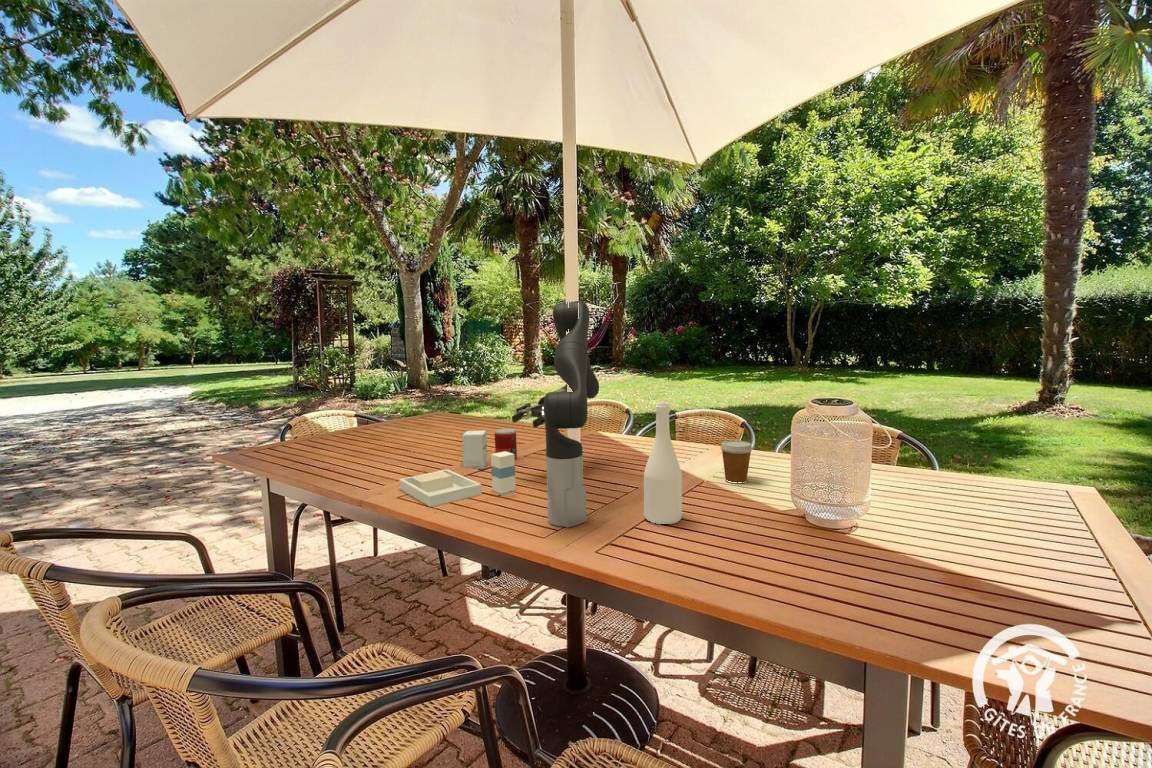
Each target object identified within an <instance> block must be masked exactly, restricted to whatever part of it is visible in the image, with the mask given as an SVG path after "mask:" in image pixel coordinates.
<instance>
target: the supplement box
mask: <svg viewBox="0 0 1152 768" xmlns="http://www.w3.org/2000/svg"><path fill="white" fill-rule="evenodd" d="M461 437H462V438H461V439H462V441H461V442H462V462H463V465H462V466H463V468H471V469H474V470H476V469H485V468H486V467H487V465H488V446H487V431H486V430H466V431H465V432H464V433H463V434H462V436H461Z"/></svg>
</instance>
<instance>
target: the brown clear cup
mask: <svg viewBox="0 0 1152 768" xmlns="http://www.w3.org/2000/svg"><path fill="white" fill-rule="evenodd" d="M720 449H721V453H722V460H723V462H722V463H723V470H724V477H725V479H726V480H728V481H731V482H737V483H738V482H745V481H746V482H747V480H748V473H749V466H750V459H751V452H752V451H753V447H752V444H751V443H750V442H748V441H745V440H733V439H732V440H725V441H722V443H721V446H720ZM726 480H725V481H726Z"/></svg>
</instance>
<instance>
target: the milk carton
mask: <svg viewBox="0 0 1152 768" xmlns="http://www.w3.org/2000/svg"><path fill="white" fill-rule="evenodd" d="M490 457H491V458H490V459H491V460H490V461H491V465H490V466H491V483H492V484H491V487H492V491H494V492H497V493H498V495H497V496H498V497H500V498H503V497H507V496H511V495H514V494H515V495H516V493H517V492H516V490H517V487H516V464H515V459H514V454H512V453H509V452H506V451H504V452H499V453H491V454H490Z"/></svg>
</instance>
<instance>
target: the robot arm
mask: <svg viewBox="0 0 1152 768" xmlns="http://www.w3.org/2000/svg"><path fill="white" fill-rule="evenodd" d="M573 301H574V302H573ZM573 301H567V304H566V302H564V301H563V302H559V303H556V304H555V305H554V306H553V307H552V308H553V309H552V319H553V324H554V328H555V331H556V334H557V337H558V338H559V340H560V341H559V342H558V343H557V345H556V346H555V347H556V348H555V350H554V351H555V352H554V361H553V362H554V363H553V364H554V365H553V366H554V370H555V371H556V374H557V375H558V376H559V378H560V379H561V380H562V381H564V383H566V384H565V385H564V386H562V387H560V388H558V389H556V390H553V391H551V392H550V391H549V392H547V393H546V394H545V395H544V396H543V397H540V399H539V401H538V403H537V404H534V405H531V403H530V402H528V403H525V404H523V405H521V406H519V407H518V408H516V409H515V410H516V413H515V414H513V415H511V419H512V423H517V422H518V421H520V420H523V419H525V418H527V419H532V418H535V419H534V420H532V427H533V428H534V429H535V428H538V427H540V426H542V425H543V424H544V427H545V428H544V429H545V452H546V453H545V455H546V456H545V458H546V461H545V463H546V490H547V491H546V493H547V496H546V497H547V519H548V520H547V521H548V523H549V524H550V525H552V526H556V527H565V528H572V527H574V526H577V525H580V524H583V523H586V522H587V498H586V497H587V488H586V487H587V486H586V485H584V466H583V465H584V462H583V460H584V458H583V456H584V455H583V453H584V452H583V444H582V443H581V442H580V441H578V440H576V439H573V438H570V437H567V436H566V435H564V434H563V433H561V432H560V431H559V430H560V429H580V428H583V427H584V426H585V425H586V423H587V421H588V412H589V411H588V407H589V405H588V399H589V400H591V399H594V398H596V397H597V396H598V394H599V390H600V383H599V380H598V378H597V376H596V374H595V373H594V370H593V369H592V366H591V363H590V357H589V353H588V337H589V335H588V333H589V327H590V309H589V306H588V305H587V303H586V302H585V301H583V300H573ZM568 302H569V308H568ZM570 302H571V303H570ZM578 303H579V319H578ZM568 329H569V333H568V334H567V335H566V331H567V332H568ZM567 384H568V385H569V387H570V388H571V389H572V391H573V392H567Z"/></svg>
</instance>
